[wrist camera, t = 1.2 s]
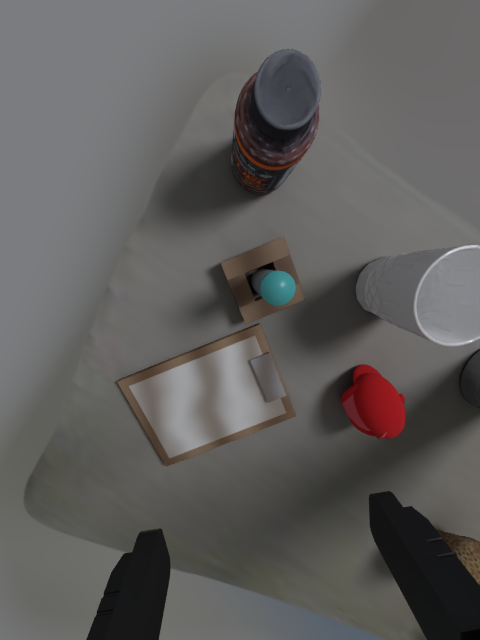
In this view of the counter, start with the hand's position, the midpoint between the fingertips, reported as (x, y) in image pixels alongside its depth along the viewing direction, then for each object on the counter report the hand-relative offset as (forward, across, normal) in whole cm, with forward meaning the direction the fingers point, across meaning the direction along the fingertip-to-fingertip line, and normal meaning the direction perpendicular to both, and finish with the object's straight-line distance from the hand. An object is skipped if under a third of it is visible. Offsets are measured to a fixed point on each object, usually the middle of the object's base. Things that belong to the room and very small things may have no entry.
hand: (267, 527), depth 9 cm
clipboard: (+20, +4, +6) cm, 22 cm away
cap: (+21, -15, +8) cm, 27 cm away
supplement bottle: (+21, -5, -19) cm, 29 cm away
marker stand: (+20, -4, -8) cm, 22 cm away
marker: (+21, -4, -8) cm, 22 cm away
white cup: (+21, -18, -5) cm, 28 cm away
